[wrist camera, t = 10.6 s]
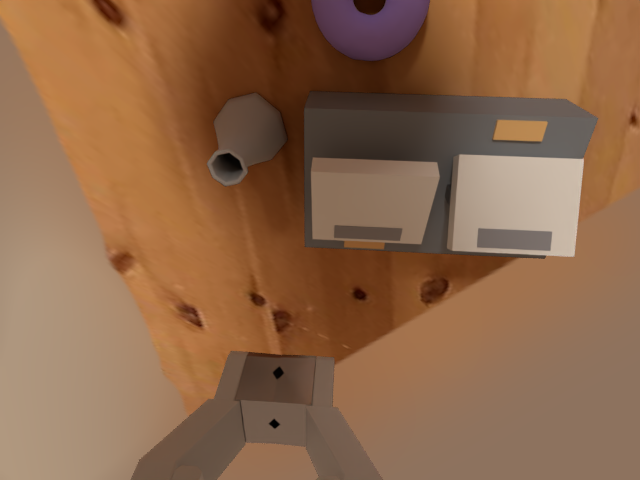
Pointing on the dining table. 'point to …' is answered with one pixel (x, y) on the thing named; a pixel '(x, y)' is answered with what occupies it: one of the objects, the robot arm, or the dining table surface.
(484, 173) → the switch
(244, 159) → the flask
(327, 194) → the switch
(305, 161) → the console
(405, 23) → the donut
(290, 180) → the dining table surface
